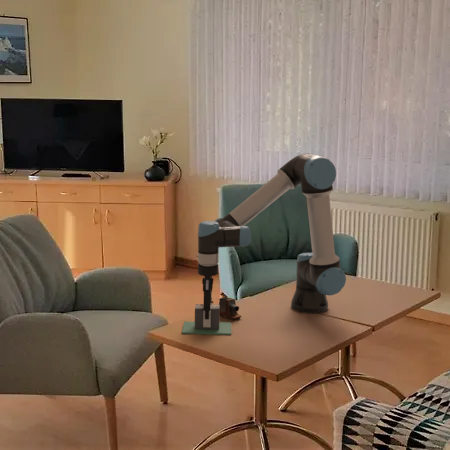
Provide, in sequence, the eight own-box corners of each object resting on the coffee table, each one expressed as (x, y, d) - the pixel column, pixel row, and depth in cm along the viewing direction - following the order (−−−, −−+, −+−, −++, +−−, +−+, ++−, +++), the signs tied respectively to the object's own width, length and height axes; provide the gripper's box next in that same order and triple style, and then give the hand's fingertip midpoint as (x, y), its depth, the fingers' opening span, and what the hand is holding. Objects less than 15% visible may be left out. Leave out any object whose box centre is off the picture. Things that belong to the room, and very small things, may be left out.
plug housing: (219, 325, 256) (219, 304, 255) (218, 329, 251) (219, 308, 250) (195, 324, 256) (195, 304, 255) (194, 329, 251) (194, 308, 250)
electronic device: (233, 321, 263) (233, 302, 261) (217, 315, 270) (217, 297, 268) (241, 319, 266) (242, 300, 264) (225, 313, 273) (225, 295, 271)
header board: (231, 323, 260) (231, 313, 259) (231, 335, 248) (231, 324, 247) (184, 322, 260) (184, 312, 259) (181, 333, 248) (181, 323, 247)
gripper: (199, 257, 258) (198, 315, 263) (196, 270, 240) (195, 332, 244) (219, 257, 258) (218, 315, 263) (217, 270, 240) (216, 332, 244)
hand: (207, 323), depth 253 cm, fingers open, 6 cm apart
